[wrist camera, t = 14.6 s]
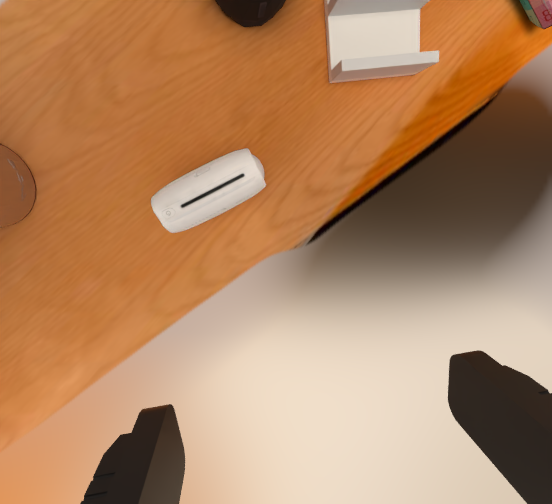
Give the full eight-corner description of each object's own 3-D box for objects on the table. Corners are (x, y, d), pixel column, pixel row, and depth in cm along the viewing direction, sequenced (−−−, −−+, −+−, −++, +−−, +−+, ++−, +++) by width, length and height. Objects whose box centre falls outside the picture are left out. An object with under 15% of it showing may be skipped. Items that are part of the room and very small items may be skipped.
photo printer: (188, 221, 37) (163, 246, 25) (168, 188, 35) (133, 198, 24) (265, 182, 36) (278, 188, 25) (248, 147, 35) (253, 137, 23)
